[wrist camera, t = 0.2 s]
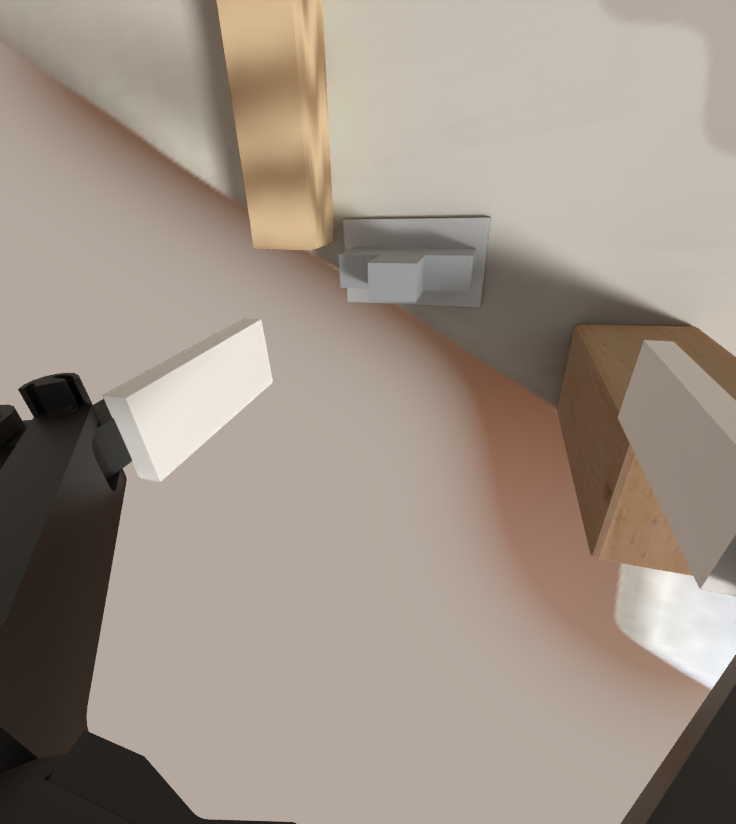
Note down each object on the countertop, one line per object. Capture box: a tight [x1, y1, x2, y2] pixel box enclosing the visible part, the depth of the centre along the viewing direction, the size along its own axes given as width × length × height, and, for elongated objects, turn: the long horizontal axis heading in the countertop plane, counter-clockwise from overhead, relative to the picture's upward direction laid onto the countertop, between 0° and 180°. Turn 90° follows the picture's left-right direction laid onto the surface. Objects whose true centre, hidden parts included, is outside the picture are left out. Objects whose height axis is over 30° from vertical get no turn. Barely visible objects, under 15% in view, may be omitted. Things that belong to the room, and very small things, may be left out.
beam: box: [216, 0, 334, 250], centre depth 32 cm, size 24×6×6 cm, turn 1°
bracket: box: [338, 217, 491, 308], centre depth 35 cm, size 8×14×9 cm, turn 92°
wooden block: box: [557, 324, 736, 576], centre depth 30 cm, size 10×10×20 cm
